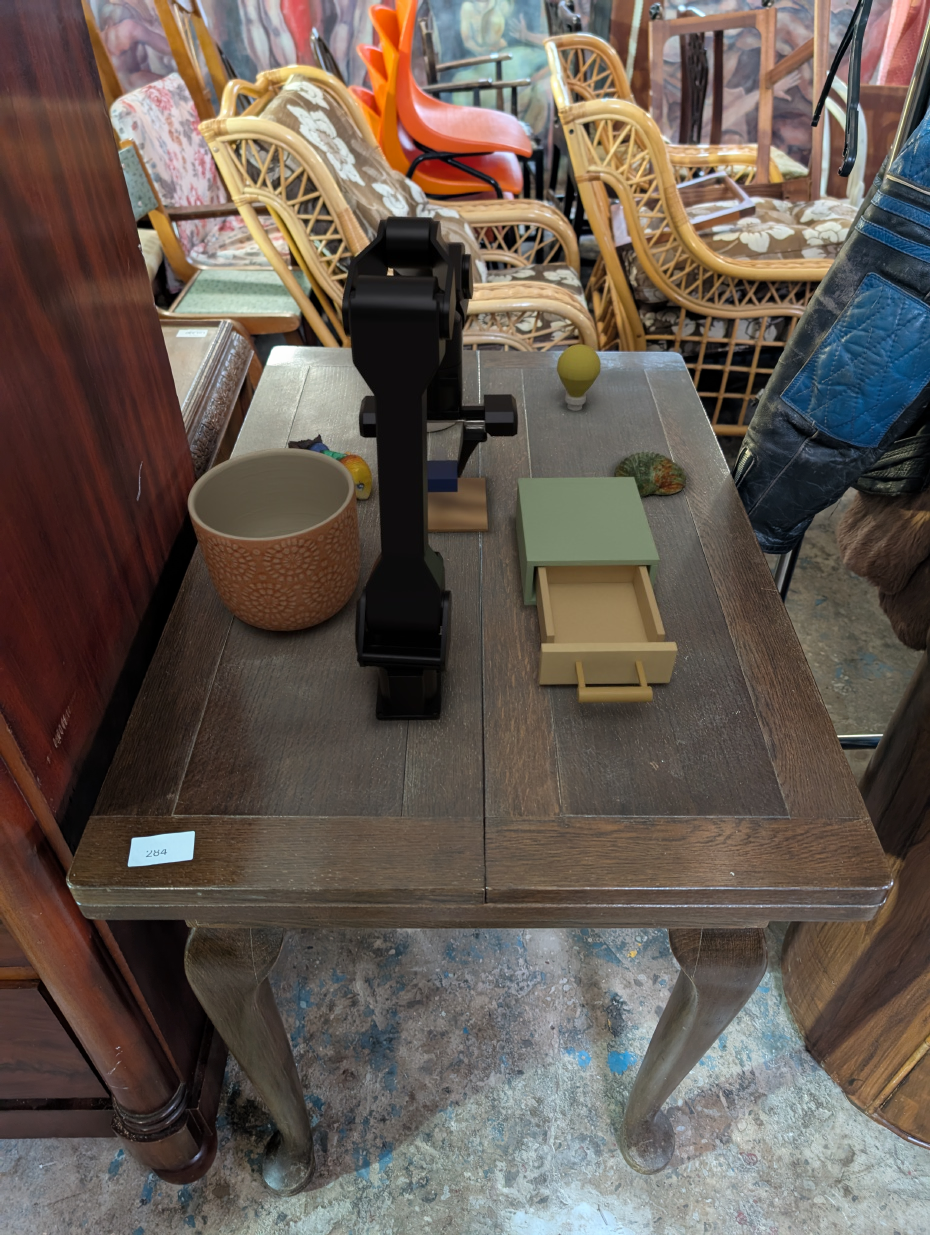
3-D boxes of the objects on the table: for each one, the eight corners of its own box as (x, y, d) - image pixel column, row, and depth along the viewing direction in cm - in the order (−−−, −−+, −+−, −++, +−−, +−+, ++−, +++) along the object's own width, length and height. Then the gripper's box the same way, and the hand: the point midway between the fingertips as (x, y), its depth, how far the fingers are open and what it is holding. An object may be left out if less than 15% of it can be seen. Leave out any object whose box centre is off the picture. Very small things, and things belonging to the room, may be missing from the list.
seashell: (698, 443, 110) (677, 479, 103) (694, 469, 112) (673, 505, 106) (628, 431, 114) (603, 465, 107) (626, 457, 116) (602, 491, 110)
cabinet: (650, 604, 92) (659, 559, 87) (524, 605, 92) (527, 560, 87) (626, 519, 104) (634, 476, 99) (515, 521, 104) (517, 477, 99)
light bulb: (549, 413, 125) (554, 352, 118) (558, 394, 129) (563, 334, 123) (591, 419, 123) (599, 358, 117) (599, 400, 128) (606, 340, 121)
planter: (397, 601, 92) (388, 490, 82) (274, 676, 83) (246, 563, 73) (310, 537, 101) (292, 431, 91) (191, 599, 92) (156, 489, 82)
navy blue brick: (457, 492, 100) (457, 478, 99) (422, 492, 100) (422, 479, 99) (457, 452, 107) (457, 439, 106) (424, 453, 107) (424, 439, 106)
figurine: (380, 496, 108) (376, 455, 104) (333, 517, 104) (327, 476, 100) (333, 463, 114) (328, 423, 110) (287, 481, 111) (280, 442, 107)
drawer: (680, 720, 78) (689, 687, 74) (543, 722, 78) (546, 689, 74) (642, 585, 93) (649, 552, 89) (528, 586, 93) (530, 554, 89)
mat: (487, 531, 102) (487, 528, 102) (394, 532, 102) (394, 529, 102) (484, 480, 111) (484, 477, 111) (398, 481, 111) (398, 478, 110)
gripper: (514, 329, 96) (510, 443, 107) (361, 330, 96) (371, 444, 107) (520, 370, 88) (515, 489, 99) (352, 371, 88) (365, 490, 99)
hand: (440, 476), depth 101 cm, fingers closed on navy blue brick, 4 cm apart
